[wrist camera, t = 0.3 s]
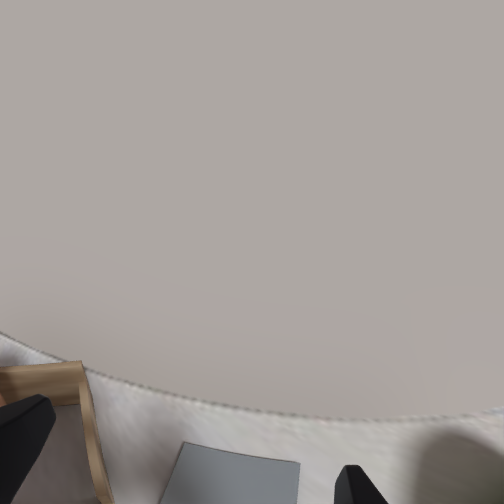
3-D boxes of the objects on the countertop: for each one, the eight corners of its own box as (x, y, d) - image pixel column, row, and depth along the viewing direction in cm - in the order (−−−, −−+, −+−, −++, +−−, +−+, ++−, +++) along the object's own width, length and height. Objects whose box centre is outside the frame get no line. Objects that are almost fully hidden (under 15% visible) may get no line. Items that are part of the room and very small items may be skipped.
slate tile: (287, 566, 13) (289, 565, 13) (147, 537, 14) (146, 536, 14) (299, 465, 23) (300, 462, 22) (185, 445, 24) (184, 442, 24)
